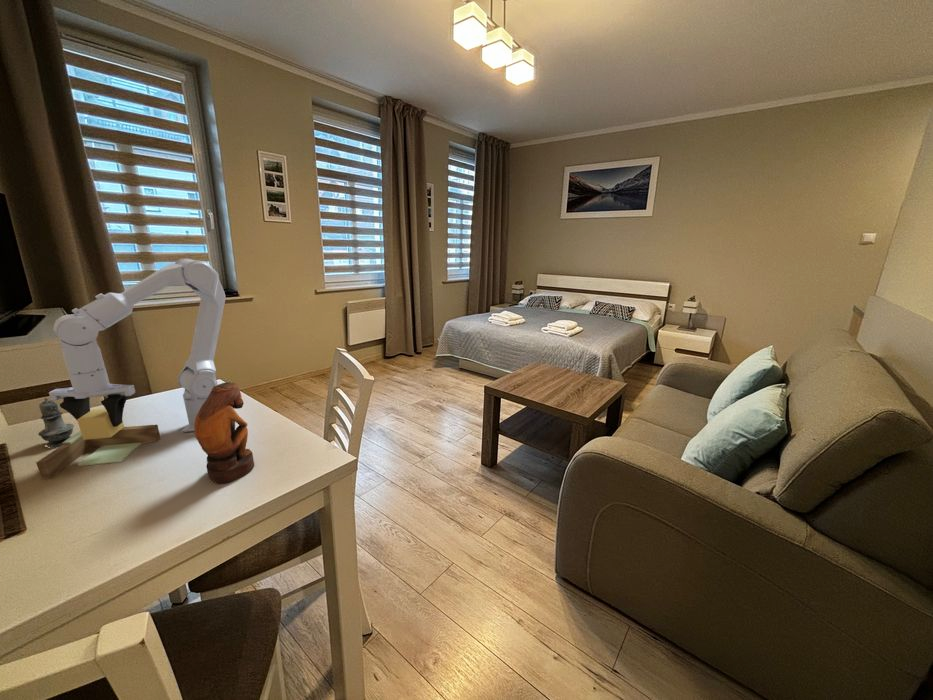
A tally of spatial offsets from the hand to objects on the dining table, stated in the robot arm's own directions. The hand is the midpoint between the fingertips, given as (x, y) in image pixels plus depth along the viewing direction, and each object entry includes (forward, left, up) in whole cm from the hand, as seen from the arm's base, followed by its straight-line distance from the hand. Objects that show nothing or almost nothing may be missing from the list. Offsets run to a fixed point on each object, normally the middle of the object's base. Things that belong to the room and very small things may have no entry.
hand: (103, 425), depth 84 cm
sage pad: (0, 0, -8) cm, 8 cm away
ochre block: (0, 0, -2) cm, 2 cm away
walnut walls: (0, +1, -8) cm, 8 cm away
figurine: (-29, +12, -8) cm, 32 cm away
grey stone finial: (+15, -8, -8) cm, 19 cm away
